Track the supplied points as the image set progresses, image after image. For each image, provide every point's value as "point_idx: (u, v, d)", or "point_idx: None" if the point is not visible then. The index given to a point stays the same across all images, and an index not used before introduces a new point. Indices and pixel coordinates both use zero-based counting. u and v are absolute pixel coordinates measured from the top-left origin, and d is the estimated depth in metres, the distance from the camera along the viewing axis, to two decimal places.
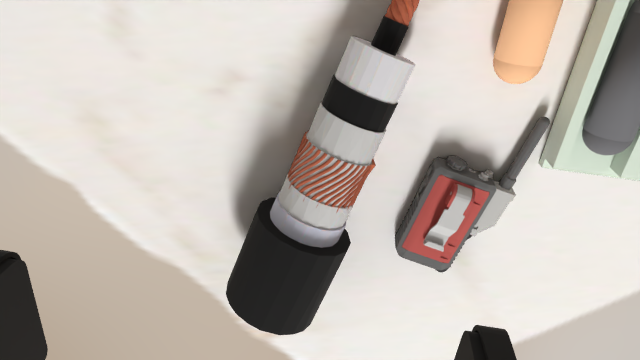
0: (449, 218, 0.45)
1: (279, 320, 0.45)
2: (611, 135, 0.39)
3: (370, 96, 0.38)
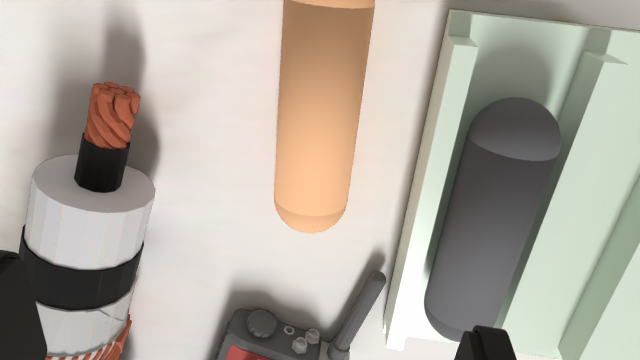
0: None
1: None
2: (455, 322, 0.24)
3: (60, 265, 0.24)
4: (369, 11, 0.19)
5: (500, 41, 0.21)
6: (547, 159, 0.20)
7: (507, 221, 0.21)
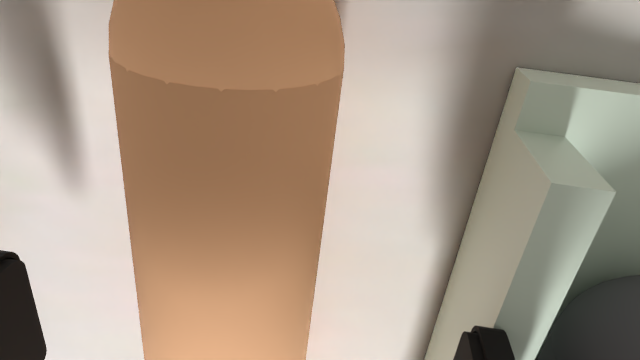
0: None
1: None
2: None
3: None
4: (326, 89, 0.07)
5: (636, 148, 0.09)
6: None
7: None
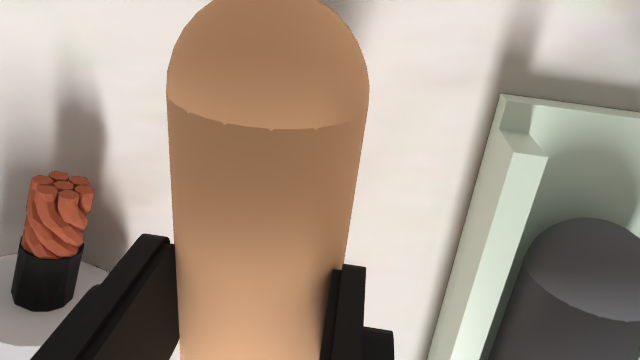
0: None
1: None
2: None
3: None
4: (356, 126, 0.09)
5: (571, 140, 0.15)
6: None
7: None
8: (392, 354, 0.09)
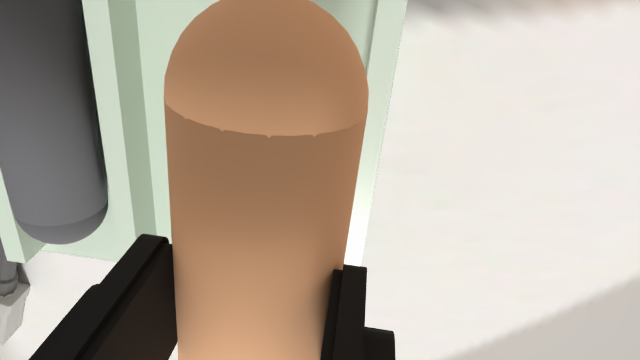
0: None
1: None
2: (20, 213, 0.20)
3: None
4: (354, 132, 0.08)
5: None
6: None
7: (2, 69, 0.17)
8: (393, 354, 0.09)
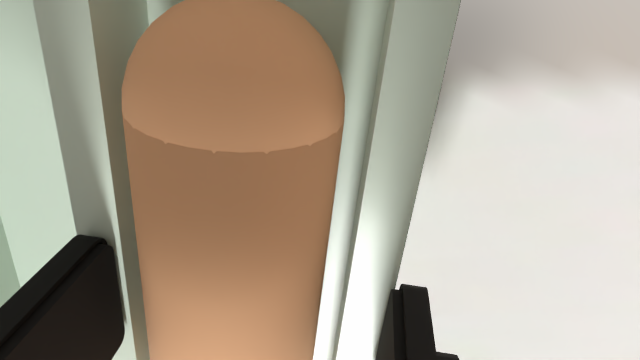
0: None
1: None
2: None
3: None
4: (320, 149, 0.08)
5: None
6: None
7: None
8: None
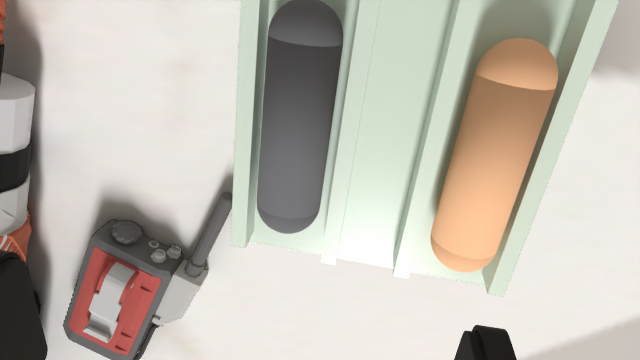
0: (102, 305, 0.34)
1: None
2: (271, 208, 0.27)
3: None
4: (554, 91, 0.23)
5: None
6: (321, 46, 0.23)
7: (296, 105, 0.24)
8: None
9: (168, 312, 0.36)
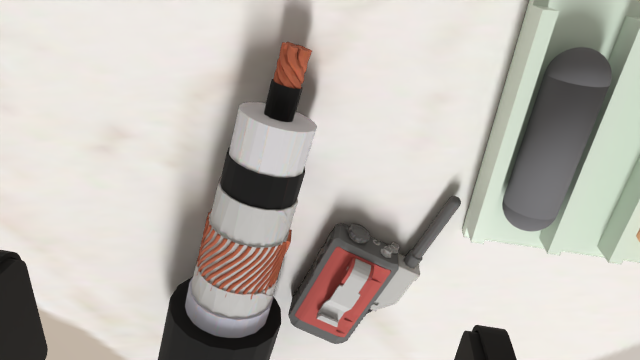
0: (343, 295, 0.40)
1: None
2: (530, 212, 0.34)
3: (263, 173, 0.33)
4: None
5: (569, 9, 0.31)
6: (603, 86, 0.29)
7: (574, 132, 0.30)
8: None
9: (386, 298, 0.43)
